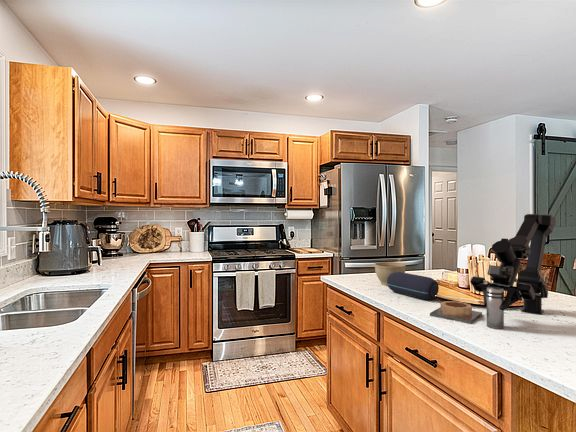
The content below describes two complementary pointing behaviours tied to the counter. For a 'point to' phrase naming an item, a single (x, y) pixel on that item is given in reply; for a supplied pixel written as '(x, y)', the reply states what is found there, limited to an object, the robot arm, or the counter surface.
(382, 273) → the planter bowl
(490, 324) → the steel piston
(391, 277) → the portable speaker
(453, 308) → the piston socket base
